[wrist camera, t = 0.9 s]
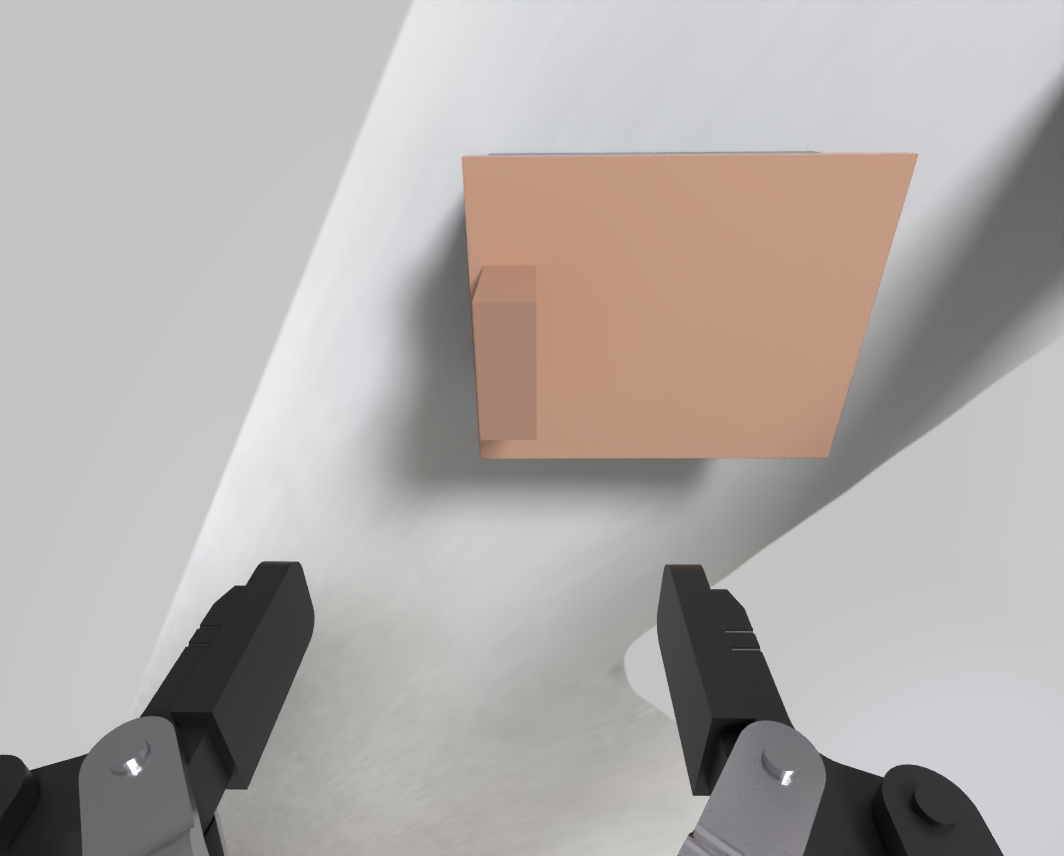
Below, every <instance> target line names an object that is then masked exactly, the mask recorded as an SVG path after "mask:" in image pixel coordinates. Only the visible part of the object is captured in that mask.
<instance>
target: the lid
mask: <svg viewBox="0 0 1064 856" xmlns="http://www.w3.org/2000/svg"><path fill="white" fill-rule="evenodd" d="M917 157H918V154H914V153H784V154H640V155H496V156H463V157H462V167H463V183H464V199H465V216H466V232H467V248H468V265H469V281H470V297H471V313H472V330H473V346H474V362H475V379H476V395H477V411H478V428H479V444H480V459H566V458H828V456H829V453H830V449H831V446H832V443H833V439H834V436H835V432H836V429H837V426H838V422H839V419H840V416H841V412H842V409H843V406H844V402H845V399H846V396H847V392H848V389H849V385H850V382H851V379H852V375H853V372H854V369H855V365H856V362H857V359H858V355H859V352H860V349H861V345H862V342H863V338H864V335H865V332H866V328H867V325H868V322H869V318H870V315H871V312H872V308H873V305H874V302H875V298H876V295H877V291H878V288H879V285H880V281H881V278H882V275H883V271H884V268H885V265H886V261H887V258H888V255H889V251H890V248H891V244H892V241H893V238H894V234H895V231H896V228H897V224H898V221H899V218H900V214H901V211H902V208H903V204H904V201H905V197H906V194H907V191H908V187H909V184H910V181H911V177H912V174H913V171H914V167H915V164H916V161H917Z"/></svg>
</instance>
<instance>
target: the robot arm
mask: <svg viewBox="0 0 1064 856" xmlns="http://www.w3.org/2000/svg"><path fill="white" fill-rule="evenodd" d="M313 628H314V609H313V605H312V601H311V598H310V594H309V590H308V587H307V583H306V579H305V576H304V572H303V568H302V566H301V564H300V563H299V562H287V561H264V562H261V563H260V564H259V565H258V566H257V568H256V569H255V571H254V573H253V574H252V576H251V578H250V579H249V581H248V583H247V584H246V586H234V587H233V588H232V589H231V590H229V591H228V592H227V593H226V594H225V595H223V596H222V597H221V598H220V599H219V600H218V601H216V602H215V603H214V604H213V606H212V607H211V609H210V610H209V612H208V613H207V615H206V617H205V618H204V620H203V621H202V623H201V624H200V629H197V630H196V632H195V634H194V635H193V637H192V638H191V640H190V641H189V646H188V647H185V649H184V651H183V652H182V654H181V655H180V657H179V658H178V660H177V661H176V663H175V664H174V666H173V668H172V669H171V671H170V672H169V674H168V675H167V677H166V678H165V680H164V681H163V683H162V685H161V686H160V688H159V689H158V691H157V692H156V694H155V695H154V697H153V698H152V700H151V702H150V703H149V705H148V706H147V708H146V709H145V711H144V712H143V714H142V715H141V716H140V718H137V719H134V720H131V721H129V722H126V723H124V724H122V725H120V726H119V727H117V728H115V729H114V730H112V731H111V732H109V733H108V734H107V735H105V736H104V737H103V738H102V739H101V740H100V741H99V742H98V743H97V744H96V745H95V746H94V747H93V748H92V749H91V751H90V752H89V753H88V754H85V755H82V756H79V757H75V758H72V759H68V760H65V761H61V762H58V763H54V764H51V765H47V766H44V767H40V768H37V769H33V770H30V771H29V769H28V768H27V767H26V765H25V764H24V763H23V762H22V760H21V759H19V758H18V757H16V756H12V755H0V856H229V855H228V851H227V847H226V843H225V839H224V835H223V831H222V827H221V823H220V819H219V815H218V812H217V810H216V808H217V806H218V804H219V802H220V800H221V797H222V795H223V793H224V791H225V789H244V790H247V789H248V786H249V784H250V782H251V779H252V777H253V774H254V772H255V770H256V767H257V765H258V763H259V760H260V758H261V756H262V753H263V751H264V748H265V746H266V744H267V741H268V739H269V737H270V734H271V732H272V730H273V727H274V725H275V722H276V720H277V718H278V715H279V713H280V711H281V708H282V706H283V704H284V701H285V699H286V697H287V694H288V692H289V689H290V687H291V685H292V682H293V680H294V678H295V675H296V673H297V671H298V668H299V666H300V663H301V661H302V659H303V656H304V654H305V652H306V649H307V647H308V645H309V642H310V640H311V637H312V633H313ZM657 632H658V640H659V645H660V650H661V654H662V659H663V663H664V667H665V672H666V677H667V681H668V685H669V690H670V695H671V699H672V704H673V708H674V713H675V717H676V722H677V726H678V731H679V735H680V740H681V744H682V749H683V753H684V758H685V762H686V767H687V771H688V776H689V780H690V785H691V789H692V794H693V796H710V798H709V800H708V802H707V804H706V806H705V809H704V811H703V813H702V815H701V817H700V819H699V821H698V823H697V825H696V827H695V829H694V831H693V832H692V833H690V834H689V835H688V837H687V838H686V840H685V842H684V844H683V845H682V847H681V849H680V851H679V853H678V855H677V856H1004V855H1003V854H1002V852H1001V850H1000V848H999V846H998V845H997V843H996V841H995V839H994V837H993V836H992V834H991V832H990V830H989V829H988V827H987V825H986V823H985V822H984V820H983V818H982V816H981V814H980V813H979V811H978V810H977V808H976V806H975V805H974V804H973V802H972V801H971V800H970V799H969V798H968V796H967V795H966V794H965V793H964V792H963V791H962V790H961V789H960V788H959V787H957V786H956V785H955V784H954V783H952V782H951V781H950V780H948V779H947V778H945V777H944V776H942V775H940V774H938V773H936V772H935V771H932V770H930V769H927V768H924V767H921V766H917V765H899V766H896V767H894V768H892V769H890V770H889V771H888V772H887V773H886V775H885V776H884V778H883V777H880V776H877V775H874V774H871V773H867V772H864V771H861V770H858V769H855V768H852V767H849V766H846V765H843V764H840V763H838V762H835V761H832V760H831V759H829V758H827V757H825V756H823V755H822V754H820V753H818V751H817V750H816V749H815V747H814V746H813V745H812V744H811V742H810V741H809V740H808V739H807V738H806V737H804V736H803V735H802V734H801V733H799V732H798V731H796V730H795V728H794V727H793V725H792V724H791V721H790V719H789V717H788V715H787V712H786V710H785V707H784V705H783V702H782V700H781V697H780V695H779V693H778V690H777V688H776V685H775V683H774V680H773V678H772V675H771V673H770V670H769V668H768V666H767V663H766V660H765V658H764V656H763V653H762V652H761V651H760V646H759V643H758V641H757V638H756V636H755V634H753V628H752V626H751V624H750V621H749V619H748V616H747V614H746V611H745V609H744V608H743V606H742V605H741V604H740V603H739V602H738V601H737V600H736V599H735V598H734V597H733V596H732V594H730V592H729V591H728V590H725V589H722V590H721V589H718V590H717V589H710V586H709V584H708V581H707V578H706V575H705V572H704V570H703V568H702V566H701V565H665V568H664V572H663V579H662V585H661V592H660V599H659V605H658V612H657Z"/></svg>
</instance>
